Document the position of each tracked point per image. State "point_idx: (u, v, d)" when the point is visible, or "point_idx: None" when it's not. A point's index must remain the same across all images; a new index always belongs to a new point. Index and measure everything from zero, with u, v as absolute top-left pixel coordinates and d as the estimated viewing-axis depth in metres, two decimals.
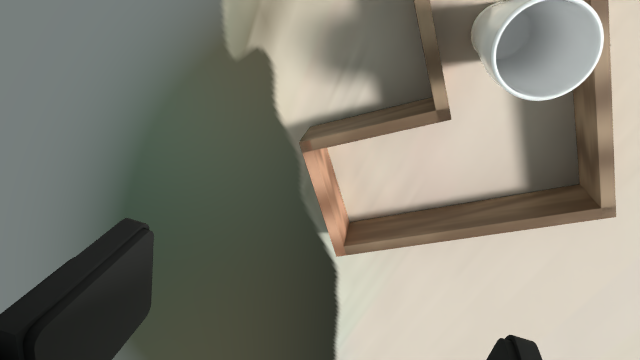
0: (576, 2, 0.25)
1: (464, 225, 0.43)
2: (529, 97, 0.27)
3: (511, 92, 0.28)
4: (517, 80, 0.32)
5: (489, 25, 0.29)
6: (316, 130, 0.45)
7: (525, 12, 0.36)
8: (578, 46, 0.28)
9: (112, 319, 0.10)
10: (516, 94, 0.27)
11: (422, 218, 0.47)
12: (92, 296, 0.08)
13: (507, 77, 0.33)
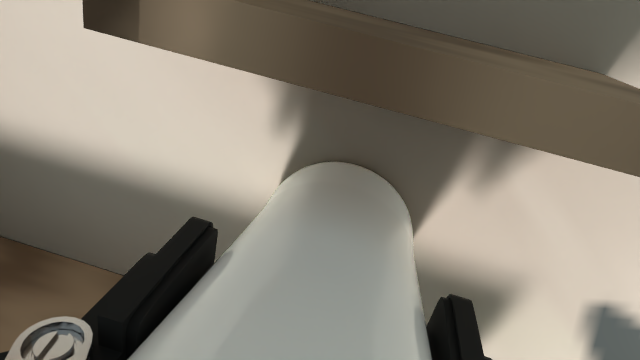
0: None
1: None
2: None
3: None
4: None
5: None
6: None
7: None
8: None
9: None
10: None
11: None
12: (174, 289, 0.09)
13: None
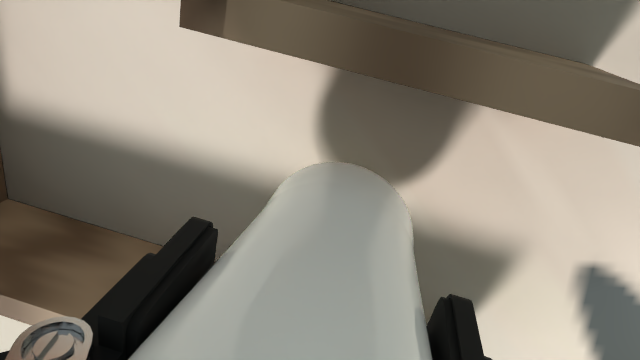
0: None
1: None
2: None
3: None
4: None
5: None
6: None
7: None
8: None
9: None
10: None
11: None
12: (174, 289, 0.09)
13: None
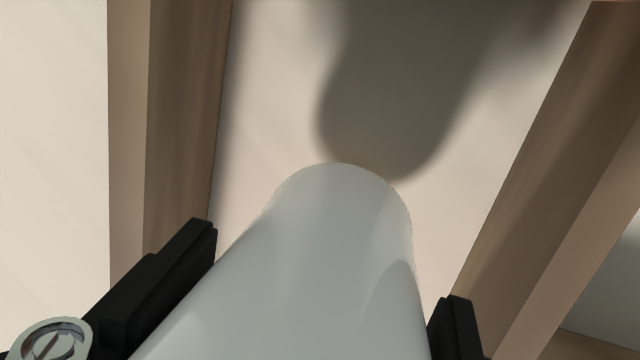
0: None
1: None
2: None
3: None
4: None
5: None
6: None
7: None
8: None
9: None
10: None
11: (194, 168, 0.16)
12: (174, 289, 0.09)
13: None
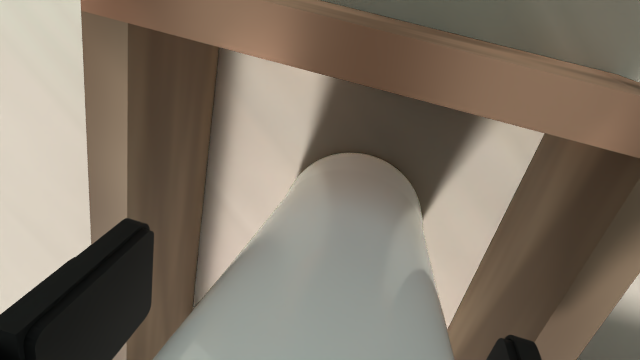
0: None
1: None
2: None
3: None
4: None
5: None
6: None
7: None
8: None
9: (112, 319, 0.10)
10: None
11: (179, 248, 0.17)
12: (92, 296, 0.08)
13: None
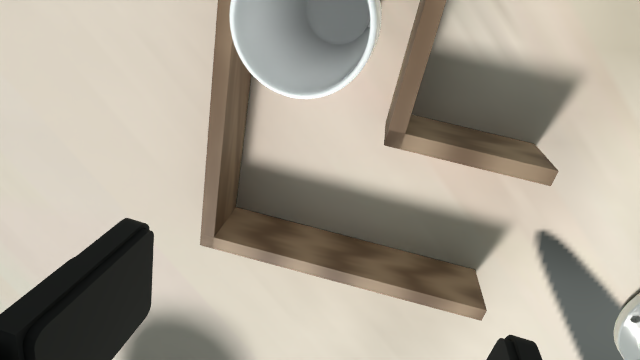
0: (344, 80, 0.18)
1: (229, 96, 0.30)
2: None
3: None
4: None
5: None
6: None
7: (348, 42, 0.30)
8: (287, 72, 0.22)
9: (112, 319, 0.10)
10: None
11: None
12: (92, 296, 0.08)
13: None
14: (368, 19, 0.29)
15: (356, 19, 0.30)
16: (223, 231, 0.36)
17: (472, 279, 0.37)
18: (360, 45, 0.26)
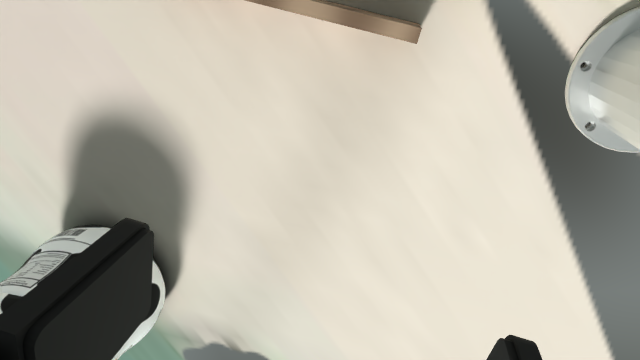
0: None
1: None
2: None
3: None
4: None
5: None
6: None
7: None
8: None
9: (112, 319, 0.10)
10: None
11: None
12: (92, 296, 0.08)
13: None
14: None
15: None
16: None
17: (414, 23, 0.35)
18: None
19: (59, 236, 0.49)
